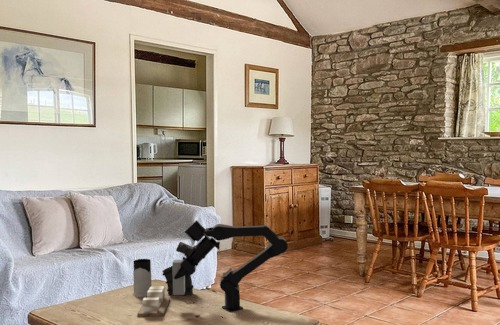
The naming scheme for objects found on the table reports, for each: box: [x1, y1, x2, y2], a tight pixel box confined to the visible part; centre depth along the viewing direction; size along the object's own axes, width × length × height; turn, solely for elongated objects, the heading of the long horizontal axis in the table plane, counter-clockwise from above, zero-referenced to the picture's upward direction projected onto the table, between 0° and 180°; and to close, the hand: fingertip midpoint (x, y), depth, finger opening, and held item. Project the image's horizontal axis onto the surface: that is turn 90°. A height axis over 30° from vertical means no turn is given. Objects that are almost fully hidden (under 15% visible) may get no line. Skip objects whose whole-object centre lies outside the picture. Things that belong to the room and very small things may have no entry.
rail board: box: [136, 285, 171, 318], centre depth 198 cm, size 10×20×6 cm, turn 2°
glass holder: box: [132, 258, 152, 298], centre depth 220 cm, size 9×14×15 cm, turn 178°
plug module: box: [171, 259, 185, 296], centre depth 195 cm, size 5×4×13 cm
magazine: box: [162, 265, 194, 296], centre depth 216 cm, size 4×13×15 cm, turn 80°
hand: (175, 276), depth 195 cm, fingers closed on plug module, 4 cm apart
